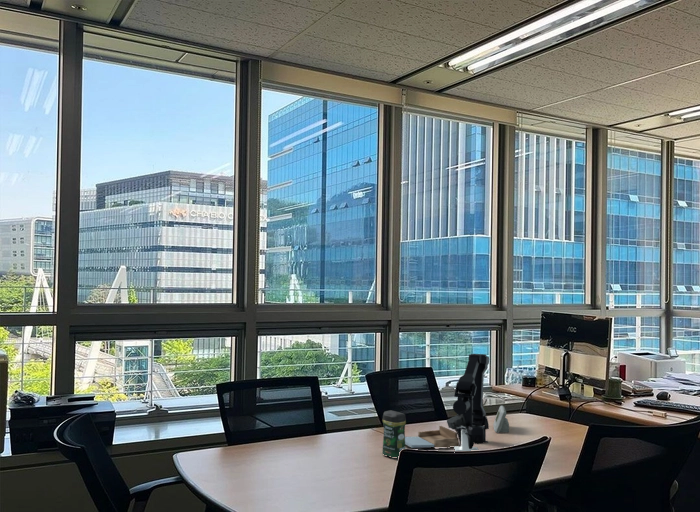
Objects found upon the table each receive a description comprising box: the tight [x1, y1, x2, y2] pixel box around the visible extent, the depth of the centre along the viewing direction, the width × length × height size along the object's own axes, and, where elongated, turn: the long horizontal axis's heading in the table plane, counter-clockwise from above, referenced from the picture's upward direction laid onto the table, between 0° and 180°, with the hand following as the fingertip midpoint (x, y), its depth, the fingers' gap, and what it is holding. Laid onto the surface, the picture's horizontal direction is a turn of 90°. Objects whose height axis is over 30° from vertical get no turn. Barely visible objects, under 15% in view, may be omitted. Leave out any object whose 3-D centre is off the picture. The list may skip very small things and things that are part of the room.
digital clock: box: [493, 405, 510, 434], centre depth 302 cm, size 16×9×11 cm, turn 158°
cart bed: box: [417, 425, 459, 447], centre depth 276 cm, size 11×16×6 cm
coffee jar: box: [381, 409, 407, 458], centre depth 256 cm, size 10×8×19 cm
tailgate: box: [405, 436, 434, 449], centre depth 271 cm, size 1×15×11 cm
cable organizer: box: [453, 429, 479, 451], centre depth 261 cm, size 5×10×10 cm, turn 84°
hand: (466, 446), depth 261 cm, fingers closed on cable organizer, 6 cm apart
